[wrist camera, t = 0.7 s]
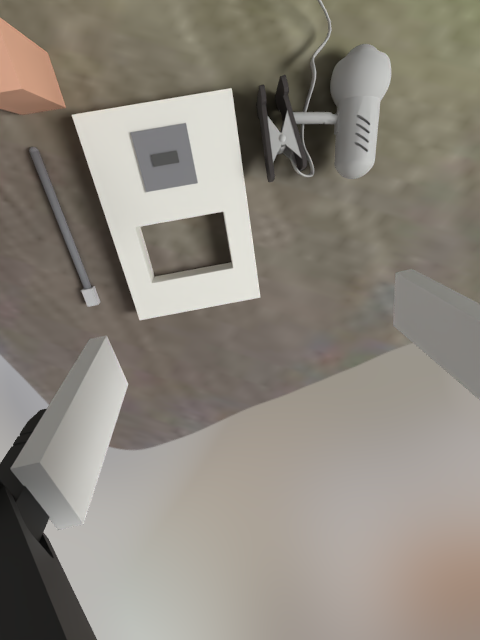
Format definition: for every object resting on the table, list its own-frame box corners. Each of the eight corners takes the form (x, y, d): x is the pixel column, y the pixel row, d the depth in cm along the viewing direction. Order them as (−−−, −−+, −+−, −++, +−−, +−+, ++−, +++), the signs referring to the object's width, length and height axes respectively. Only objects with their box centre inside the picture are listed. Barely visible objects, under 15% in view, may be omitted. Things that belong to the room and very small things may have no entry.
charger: (0, 60, 27) (-72, 21, 20) (47, 52, 27) (-8, 11, 20) (22, 115, 29) (-38, 98, 22) (65, 107, 29) (21, 88, 22)
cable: (27, 148, 30) (23, 147, 29) (40, 145, 30) (36, 145, 29) (90, 303, 37) (87, 306, 37) (100, 301, 37) (98, 304, 37)
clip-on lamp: (256, -26, 29) (255, 185, 33) (262, -100, 23) (260, 171, 27) (385, -25, 29) (368, 185, 33) (425, -99, 23) (399, 171, 27)
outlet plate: (80, 118, 30) (70, 114, 27) (229, 93, 30) (232, 87, 28) (143, 311, 39) (139, 321, 36) (256, 290, 39) (260, 298, 37)
